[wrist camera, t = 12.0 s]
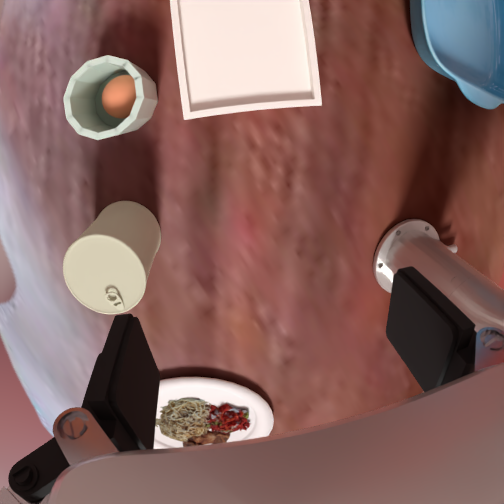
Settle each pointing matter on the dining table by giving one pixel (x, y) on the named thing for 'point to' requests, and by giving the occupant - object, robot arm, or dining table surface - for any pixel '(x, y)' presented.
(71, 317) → the dining table surface
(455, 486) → the robot arm
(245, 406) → the plated food
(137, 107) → the cup
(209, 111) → the tray
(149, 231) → the can
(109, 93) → the ball
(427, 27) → the casserole dish
